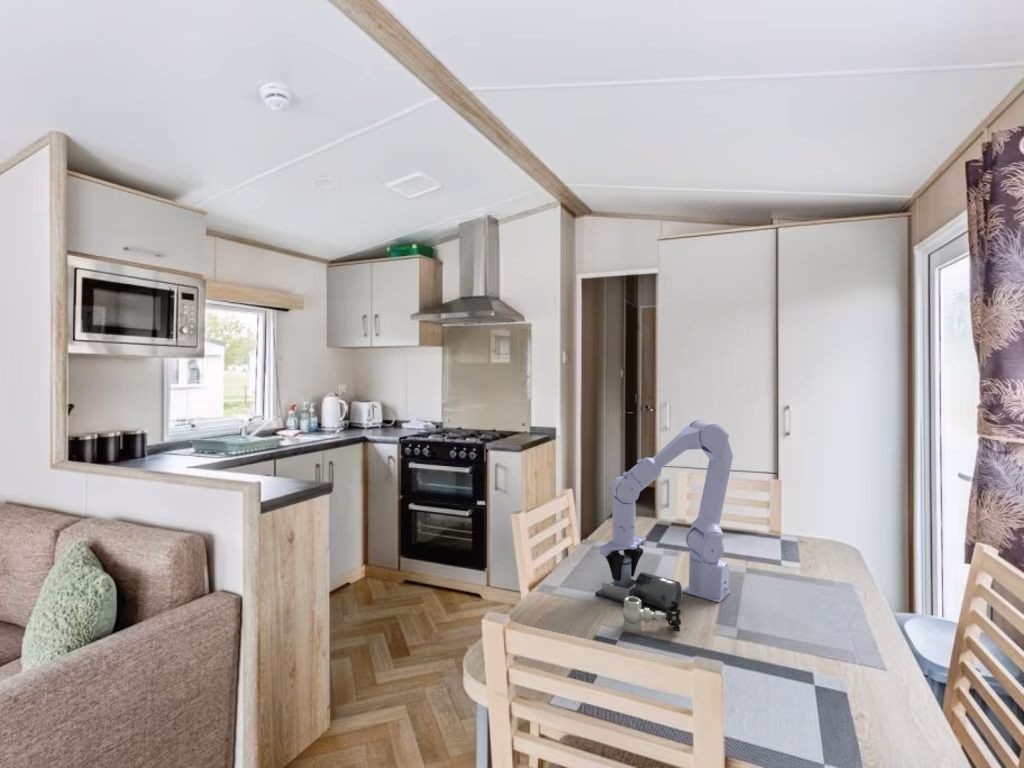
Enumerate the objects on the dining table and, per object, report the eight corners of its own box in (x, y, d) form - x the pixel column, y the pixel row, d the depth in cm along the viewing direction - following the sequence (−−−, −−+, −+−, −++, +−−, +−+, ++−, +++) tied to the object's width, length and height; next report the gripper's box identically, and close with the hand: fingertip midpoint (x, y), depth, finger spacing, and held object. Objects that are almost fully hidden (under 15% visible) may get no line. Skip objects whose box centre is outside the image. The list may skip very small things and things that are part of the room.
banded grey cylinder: (623, 579, 143) (623, 553, 143) (635, 585, 139) (635, 558, 139) (609, 582, 141) (609, 556, 141) (621, 589, 137) (621, 562, 137)
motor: (683, 603, 135) (684, 575, 134) (666, 618, 127) (666, 588, 127) (615, 583, 147) (615, 557, 147) (595, 595, 140) (595, 568, 139)
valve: (624, 635, 120) (680, 638, 119) (624, 605, 119) (681, 608, 118) (620, 621, 126) (674, 623, 125) (621, 592, 126) (674, 595, 125)
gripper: (614, 534, 132) (614, 589, 132) (655, 524, 140) (654, 576, 141) (594, 526, 138) (593, 579, 138) (634, 517, 146) (633, 567, 146)
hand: (623, 577), depth 140 cm, fingers closed on banded grey cylinder, 4 cm apart
